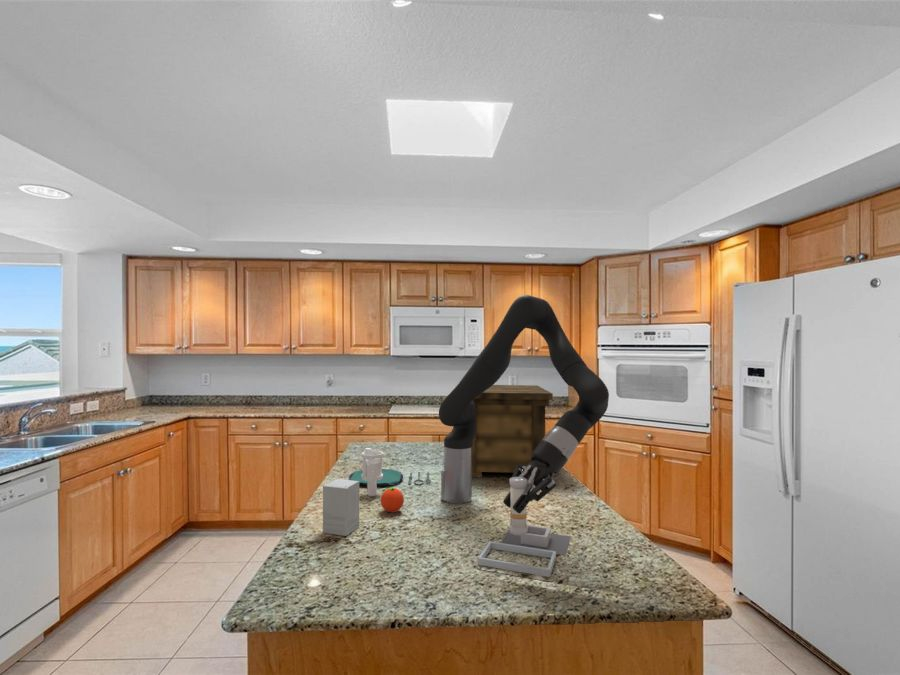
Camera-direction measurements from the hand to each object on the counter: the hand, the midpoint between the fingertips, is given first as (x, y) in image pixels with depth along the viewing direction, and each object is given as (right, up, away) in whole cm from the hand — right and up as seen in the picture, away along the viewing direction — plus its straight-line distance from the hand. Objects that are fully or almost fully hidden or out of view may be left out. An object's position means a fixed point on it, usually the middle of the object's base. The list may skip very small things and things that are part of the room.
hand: (511, 507), depth 110 cm
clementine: (-32, -14, +36) cm, 50 cm away
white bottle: (+2, -6, +1) cm, 6 cm away
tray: (+2, -14, +1) cm, 14 cm away
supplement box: (-43, -14, +21) cm, 50 cm away
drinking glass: (-40, -14, +51) cm, 67 cm away
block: (+8, -14, +12) cm, 20 cm away
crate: (+7, -15, +87) cm, 89 cm away
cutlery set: (-36, -15, +69) cm, 79 cm away
